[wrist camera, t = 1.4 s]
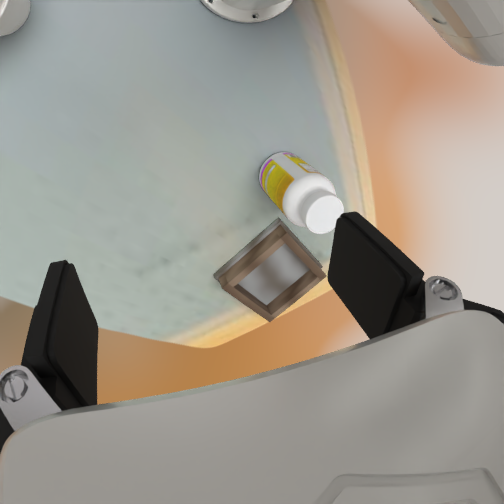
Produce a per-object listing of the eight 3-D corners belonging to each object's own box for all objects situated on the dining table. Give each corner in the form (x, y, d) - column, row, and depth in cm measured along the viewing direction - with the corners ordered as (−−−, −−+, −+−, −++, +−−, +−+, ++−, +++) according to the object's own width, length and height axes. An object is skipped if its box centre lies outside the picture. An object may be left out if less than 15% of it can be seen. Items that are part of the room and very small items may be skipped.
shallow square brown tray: (278, 217, 48) (287, 229, 45) (320, 263, 56) (329, 275, 53) (213, 274, 50) (218, 288, 47) (262, 310, 58) (269, 324, 55)
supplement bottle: (264, 201, 46) (302, 251, 35) (251, 160, 42) (290, 200, 31) (306, 185, 46) (353, 228, 36) (297, 144, 42) (348, 178, 32)
